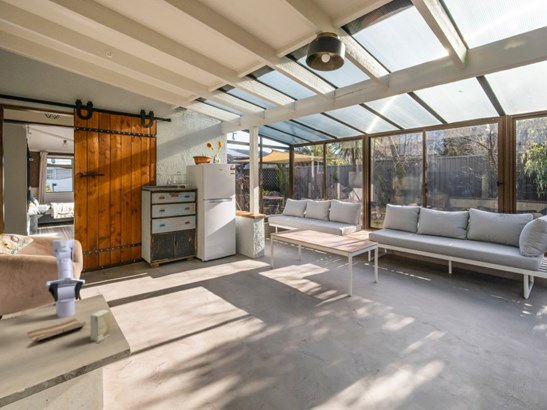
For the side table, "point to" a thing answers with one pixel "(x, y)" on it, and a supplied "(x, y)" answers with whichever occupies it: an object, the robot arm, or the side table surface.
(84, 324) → the plank
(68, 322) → the laid oak row
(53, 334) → the plank
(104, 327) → the skincare box
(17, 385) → the side table surface
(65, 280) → the robot arm
